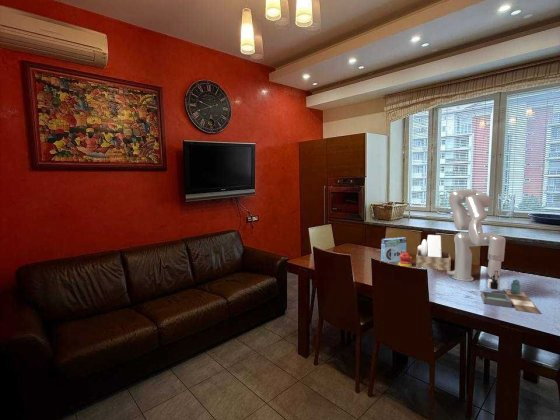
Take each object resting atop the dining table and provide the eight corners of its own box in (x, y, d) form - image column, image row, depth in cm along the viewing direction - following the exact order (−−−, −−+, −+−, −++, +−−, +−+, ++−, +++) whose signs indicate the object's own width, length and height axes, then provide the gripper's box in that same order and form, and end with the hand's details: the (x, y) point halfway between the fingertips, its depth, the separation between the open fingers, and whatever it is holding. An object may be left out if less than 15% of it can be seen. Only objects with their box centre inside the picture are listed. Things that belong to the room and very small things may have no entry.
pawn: (511, 293, 175) (512, 280, 174) (510, 291, 178) (511, 278, 177) (520, 294, 173) (521, 281, 172) (518, 292, 176) (520, 279, 175)
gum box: (402, 265, 236) (402, 236, 234) (406, 267, 231) (407, 238, 229) (380, 267, 231) (380, 238, 229) (384, 269, 226) (385, 239, 224)
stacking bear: (411, 281, 199) (412, 255, 197) (395, 279, 204) (396, 253, 202) (414, 276, 208) (414, 251, 206) (398, 274, 213) (399, 250, 212)
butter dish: (441, 257, 223) (417, 255, 229) (438, 264, 238) (416, 262, 244) (440, 235, 230) (418, 234, 236) (438, 243, 245) (417, 242, 251)
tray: (483, 303, 162) (484, 298, 161) (480, 296, 172) (480, 291, 172) (511, 307, 156) (511, 302, 156) (506, 299, 167) (506, 294, 167)
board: (516, 310, 153) (516, 309, 153) (503, 289, 181) (503, 289, 181) (541, 314, 148) (541, 313, 148) (524, 292, 177) (524, 292, 177)
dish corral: (415, 267, 231) (416, 255, 230) (417, 260, 251) (417, 249, 250) (450, 270, 220) (450, 258, 219) (448, 263, 241) (449, 252, 240)
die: (488, 288, 175) (489, 281, 174) (487, 285, 179) (488, 278, 179) (498, 290, 173) (499, 282, 172) (497, 287, 177) (498, 279, 176)
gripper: (485, 252, 183) (483, 281, 185) (490, 260, 168) (487, 291, 170) (500, 254, 179) (497, 283, 182) (506, 262, 164) (503, 293, 167)
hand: (492, 286), depth 176 cm, fingers closed on die, 4 cm apart
